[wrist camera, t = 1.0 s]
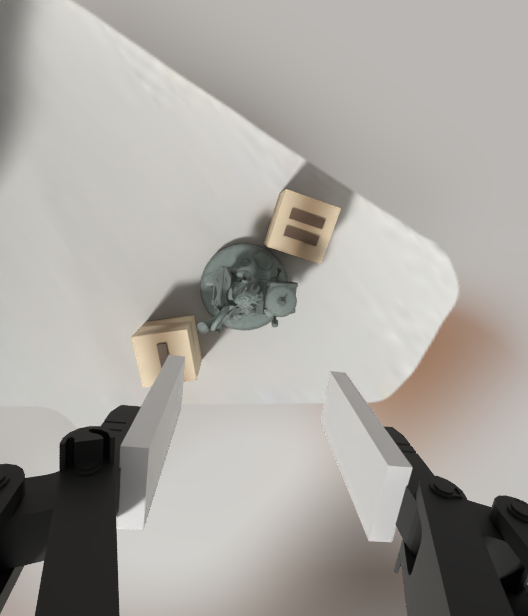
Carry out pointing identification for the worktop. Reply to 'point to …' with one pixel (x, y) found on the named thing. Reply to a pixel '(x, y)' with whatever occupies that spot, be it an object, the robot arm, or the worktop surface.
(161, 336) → the marked cube
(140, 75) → the worktop surface
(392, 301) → the worktop surface
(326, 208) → the marked cube
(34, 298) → the worktop surface
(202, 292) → the figurine
